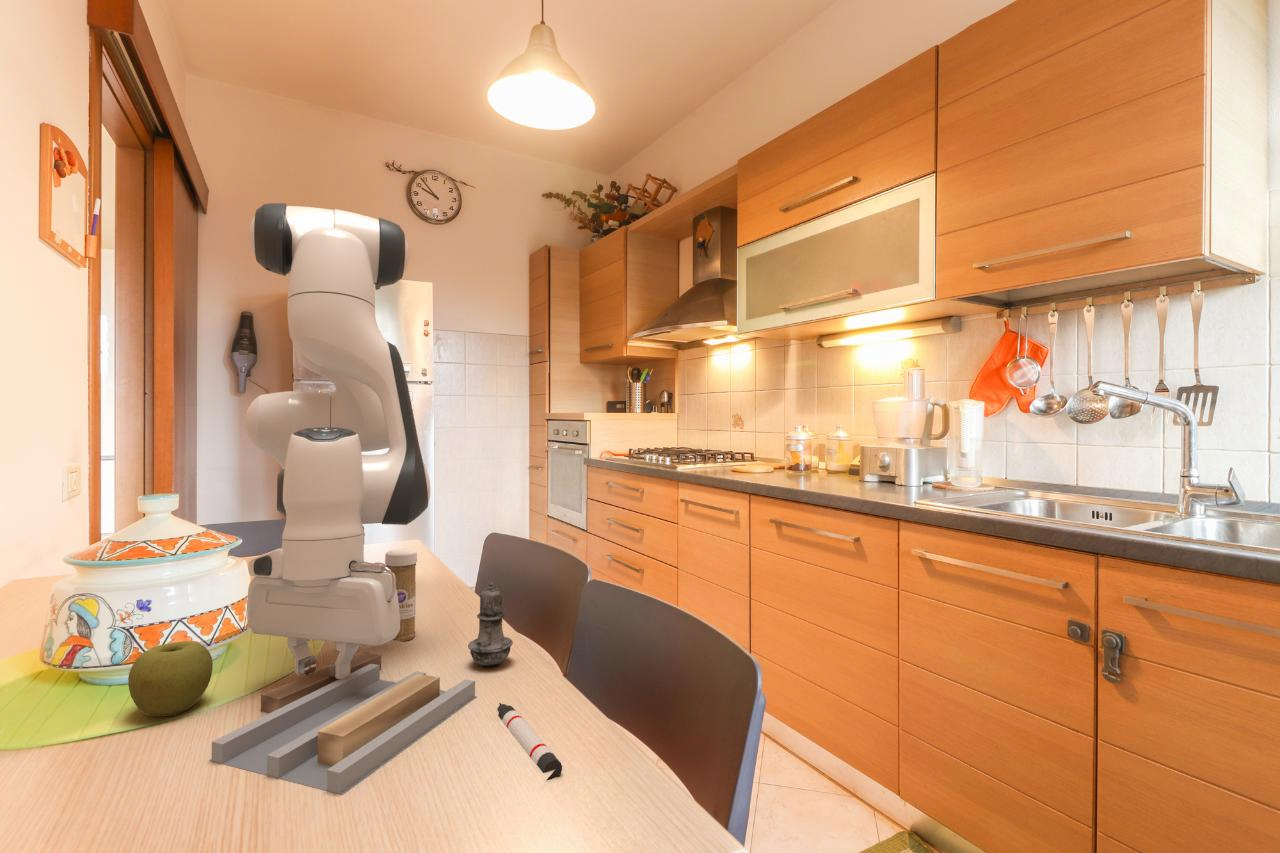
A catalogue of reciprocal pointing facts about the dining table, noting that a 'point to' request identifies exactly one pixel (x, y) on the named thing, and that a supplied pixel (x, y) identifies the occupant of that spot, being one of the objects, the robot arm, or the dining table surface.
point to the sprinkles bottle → (404, 588)
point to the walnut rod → (310, 683)
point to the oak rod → (375, 718)
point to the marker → (530, 741)
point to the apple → (170, 677)
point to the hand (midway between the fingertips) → (322, 675)
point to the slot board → (292, 731)
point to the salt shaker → (490, 630)
